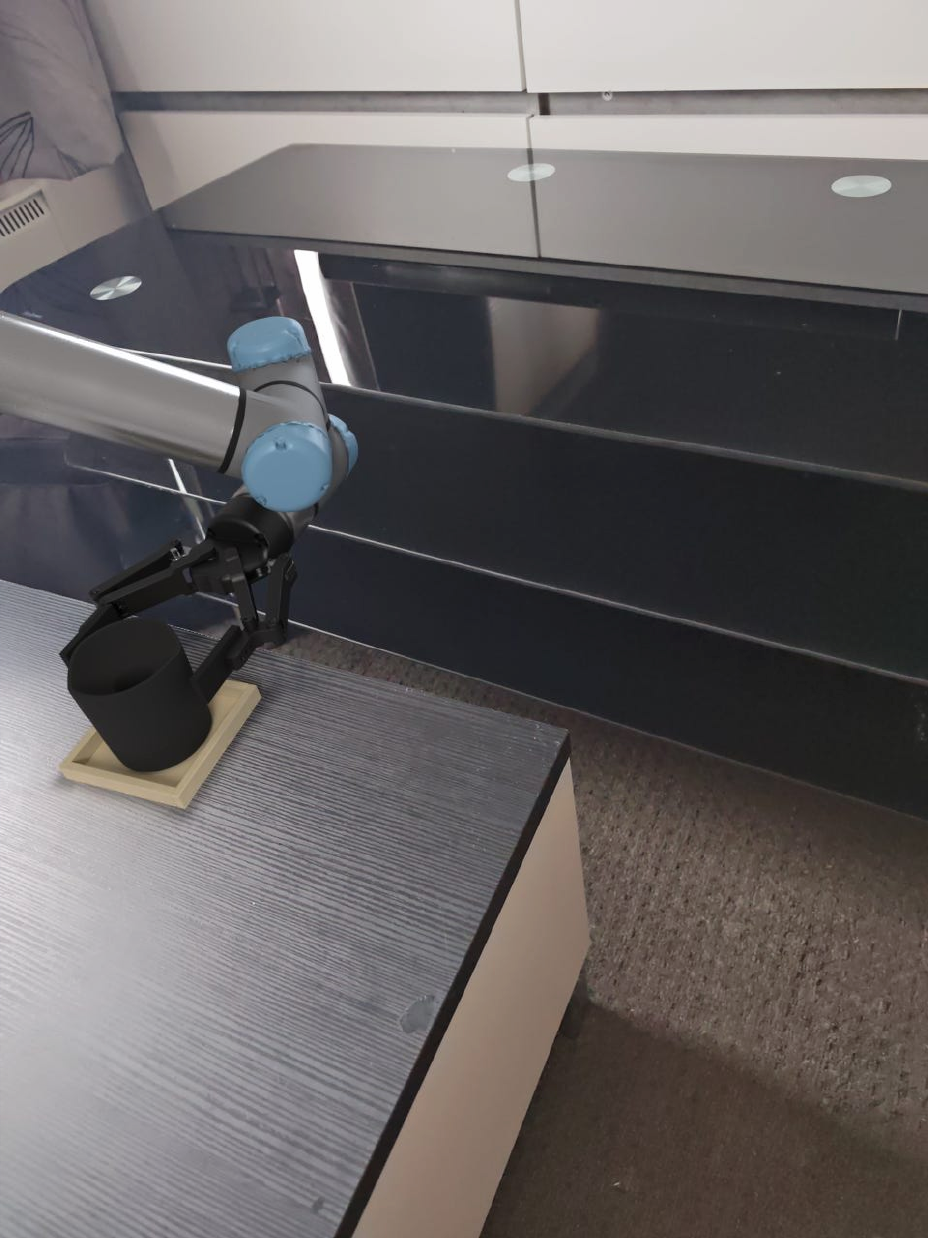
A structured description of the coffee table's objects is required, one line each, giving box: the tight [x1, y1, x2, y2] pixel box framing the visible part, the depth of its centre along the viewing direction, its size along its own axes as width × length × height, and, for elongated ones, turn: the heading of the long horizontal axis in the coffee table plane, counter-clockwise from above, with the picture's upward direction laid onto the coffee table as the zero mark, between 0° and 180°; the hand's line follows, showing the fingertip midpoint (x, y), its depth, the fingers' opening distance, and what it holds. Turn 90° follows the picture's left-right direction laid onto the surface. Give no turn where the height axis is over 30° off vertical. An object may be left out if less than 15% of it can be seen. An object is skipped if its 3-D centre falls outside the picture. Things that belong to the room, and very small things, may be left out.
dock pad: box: [58, 679, 263, 810], centre depth 81 cm, size 13×13×2 cm
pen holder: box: [66, 616, 212, 772], centre depth 78 cm, size 9×9×10 cm
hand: (131, 678), depth 76 cm, fingers open, 13 cm apart
